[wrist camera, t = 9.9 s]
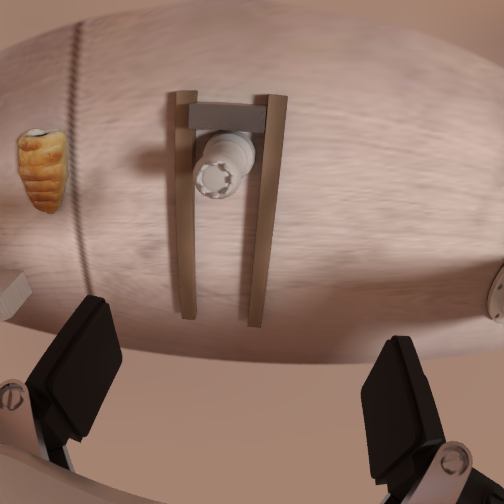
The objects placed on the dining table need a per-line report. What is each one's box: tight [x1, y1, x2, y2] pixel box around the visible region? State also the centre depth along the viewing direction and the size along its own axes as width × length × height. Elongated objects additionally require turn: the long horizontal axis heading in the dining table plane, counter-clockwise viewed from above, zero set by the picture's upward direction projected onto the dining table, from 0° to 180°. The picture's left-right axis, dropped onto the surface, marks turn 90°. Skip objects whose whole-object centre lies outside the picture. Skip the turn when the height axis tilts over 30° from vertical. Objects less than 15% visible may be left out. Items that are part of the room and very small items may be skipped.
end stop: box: [188, 102, 267, 133], centre depth 23 cm, size 6×2×3 cm, turn 86°
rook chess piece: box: [193, 130, 255, 199], centre depth 23 cm, size 4×4×8 cm
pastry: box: [18, 129, 69, 214], centre depth 26 cm, size 9×7×4 cm
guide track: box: [175, 91, 288, 328], centre depth 29 cm, size 9×24×1 cm, turn 176°
